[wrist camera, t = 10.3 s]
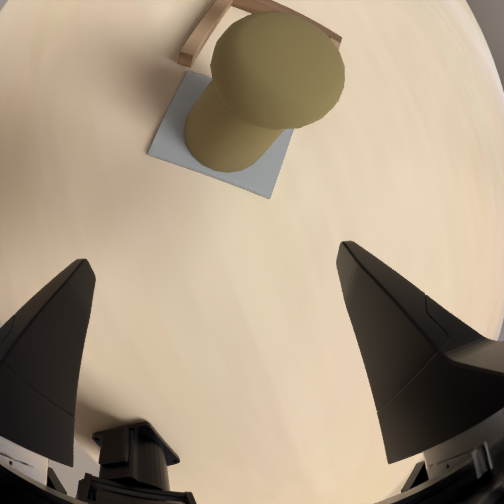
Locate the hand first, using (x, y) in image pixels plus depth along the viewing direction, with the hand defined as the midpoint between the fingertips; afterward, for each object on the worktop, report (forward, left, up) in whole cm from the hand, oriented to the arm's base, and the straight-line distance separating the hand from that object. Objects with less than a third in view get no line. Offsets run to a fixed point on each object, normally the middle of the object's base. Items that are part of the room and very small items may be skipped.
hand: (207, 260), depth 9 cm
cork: (+6, -5, -10) cm, 12 cm away
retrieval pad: (+6, -5, -10) cm, 12 cm away
